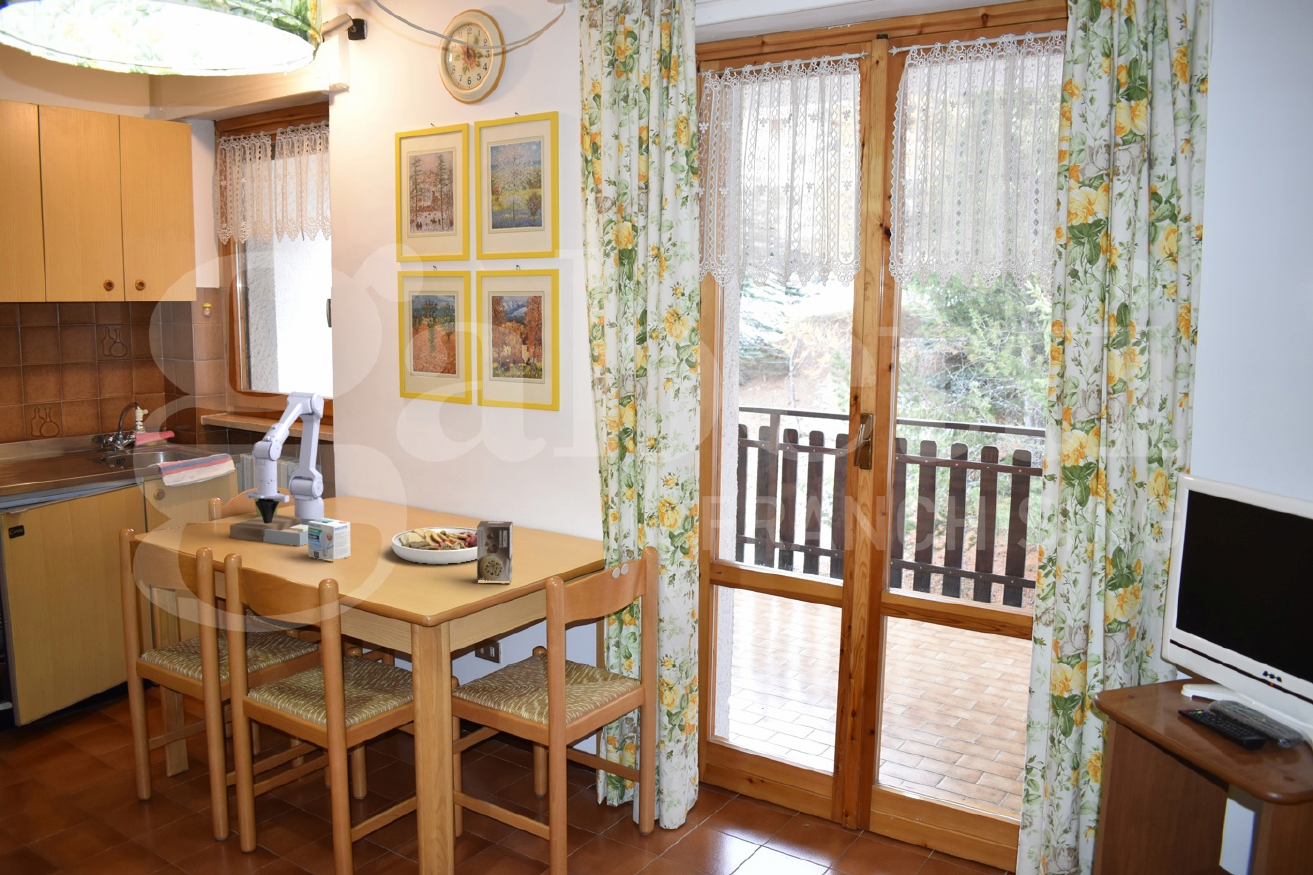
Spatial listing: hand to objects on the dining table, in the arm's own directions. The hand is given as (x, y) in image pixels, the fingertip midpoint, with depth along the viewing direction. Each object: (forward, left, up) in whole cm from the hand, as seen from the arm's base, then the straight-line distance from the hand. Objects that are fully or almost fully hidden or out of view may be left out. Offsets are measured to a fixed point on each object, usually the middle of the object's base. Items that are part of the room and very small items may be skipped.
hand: (267, 522), depth 294 cm
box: (-5, +8, -5) cm, 11 cm away
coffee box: (+13, +84, -5) cm, 85 cm away
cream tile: (-7, +7, -2) cm, 10 cm away
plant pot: (-24, -20, -5) cm, 32 cm away
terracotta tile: (0, +7, -2) cm, 7 cm away
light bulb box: (+11, +30, -5) cm, 33 cm away
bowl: (-7, +57, -6) cm, 58 cm away
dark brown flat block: (-5, -5, -5) cm, 9 cm away
